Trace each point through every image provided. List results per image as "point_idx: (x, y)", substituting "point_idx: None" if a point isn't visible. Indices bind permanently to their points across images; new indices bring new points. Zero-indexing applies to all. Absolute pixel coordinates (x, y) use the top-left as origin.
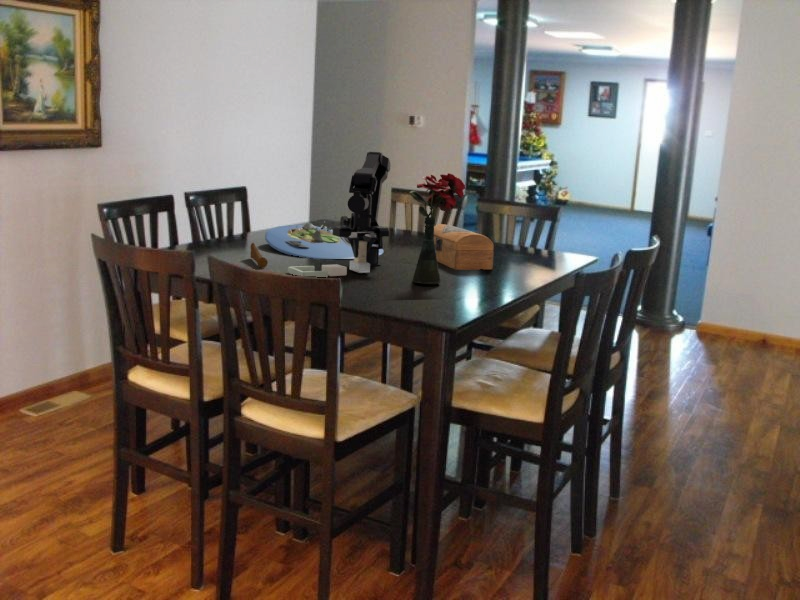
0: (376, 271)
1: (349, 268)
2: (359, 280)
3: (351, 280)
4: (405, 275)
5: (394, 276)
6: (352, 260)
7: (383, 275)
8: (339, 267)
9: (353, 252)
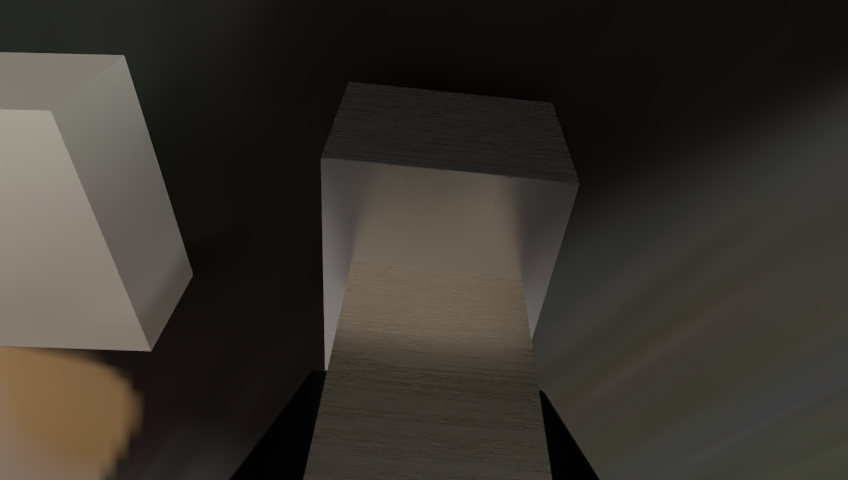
0: (780, 176)
1: (345, 91)
2: (221, 470)
3: (150, 455)
4: (819, 437)
5: (665, 441)
6: (388, 162)
7: (606, 386)
8: (31, 346)
9: (257, 457)
